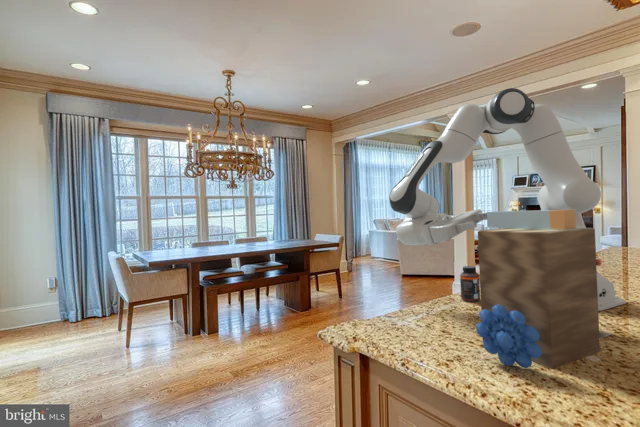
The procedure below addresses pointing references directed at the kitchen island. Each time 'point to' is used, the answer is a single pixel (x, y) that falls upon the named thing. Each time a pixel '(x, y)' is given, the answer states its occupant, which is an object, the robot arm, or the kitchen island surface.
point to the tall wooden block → (545, 286)
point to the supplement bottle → (470, 284)
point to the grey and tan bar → (532, 219)
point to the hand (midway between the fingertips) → (483, 219)
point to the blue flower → (508, 336)
